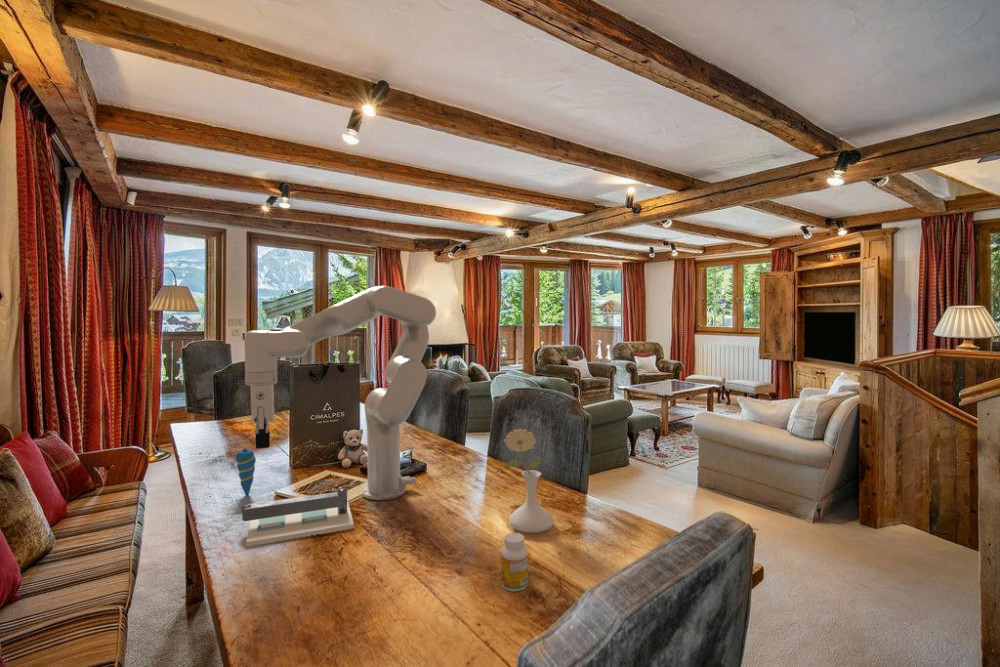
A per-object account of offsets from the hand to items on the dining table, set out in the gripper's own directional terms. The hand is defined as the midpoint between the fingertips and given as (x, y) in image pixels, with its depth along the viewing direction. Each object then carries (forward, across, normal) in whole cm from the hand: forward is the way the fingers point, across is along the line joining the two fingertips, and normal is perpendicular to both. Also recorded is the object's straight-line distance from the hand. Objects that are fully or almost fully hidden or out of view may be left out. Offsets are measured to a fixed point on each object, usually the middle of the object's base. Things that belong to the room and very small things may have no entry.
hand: (262, 447), depth 125 cm
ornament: (+19, +20, +6) cm, 28 cm away
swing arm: (+17, -8, -8) cm, 21 cm away
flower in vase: (+19, -32, -62) cm, 72 cm away
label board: (+19, -8, -9) cm, 22 cm away
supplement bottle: (+19, -54, -48) cm, 74 cm away
